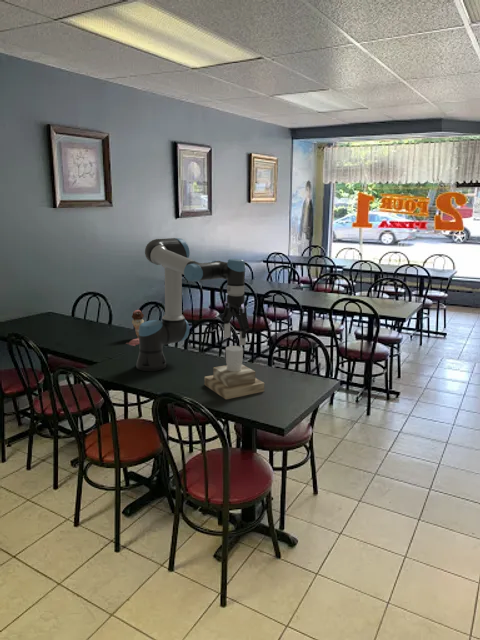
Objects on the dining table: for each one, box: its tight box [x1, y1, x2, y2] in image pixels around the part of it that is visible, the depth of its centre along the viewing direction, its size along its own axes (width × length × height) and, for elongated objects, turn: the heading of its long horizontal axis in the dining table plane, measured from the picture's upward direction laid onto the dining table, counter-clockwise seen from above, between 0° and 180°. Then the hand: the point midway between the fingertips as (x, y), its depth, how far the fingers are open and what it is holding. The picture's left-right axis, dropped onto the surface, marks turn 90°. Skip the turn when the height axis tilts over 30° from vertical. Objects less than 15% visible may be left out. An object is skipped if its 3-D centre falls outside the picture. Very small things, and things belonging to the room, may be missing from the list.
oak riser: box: [204, 364, 265, 400], centre depth 229 cm, size 20×20×9 cm
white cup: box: [225, 345, 244, 372], centre depth 226 cm, size 8×8×10 cm
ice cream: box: [125, 309, 145, 347], centre depth 300 cm, size 16×16×18 cm
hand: (234, 341), depth 225 cm, fingers open, 13 cm apart
